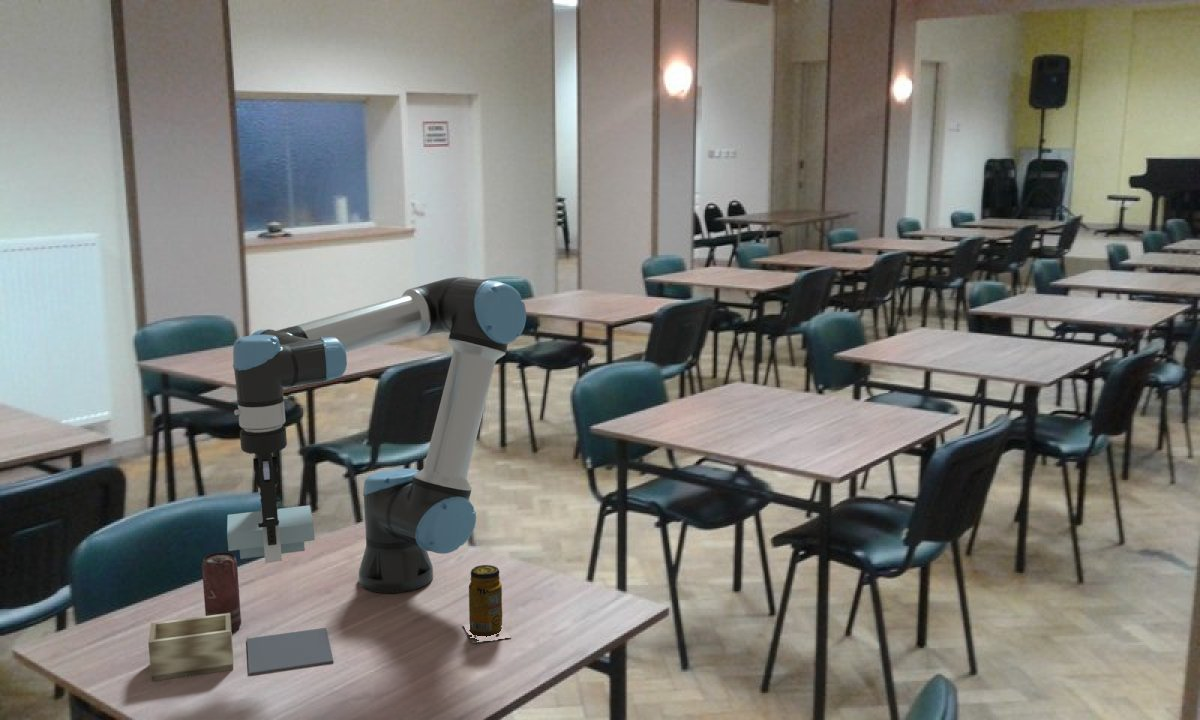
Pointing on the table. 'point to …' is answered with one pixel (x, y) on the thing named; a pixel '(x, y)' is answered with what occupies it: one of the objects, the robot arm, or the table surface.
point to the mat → (288, 651)
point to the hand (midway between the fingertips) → (272, 550)
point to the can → (222, 587)
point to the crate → (190, 646)
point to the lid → (250, 537)
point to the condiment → (485, 602)
